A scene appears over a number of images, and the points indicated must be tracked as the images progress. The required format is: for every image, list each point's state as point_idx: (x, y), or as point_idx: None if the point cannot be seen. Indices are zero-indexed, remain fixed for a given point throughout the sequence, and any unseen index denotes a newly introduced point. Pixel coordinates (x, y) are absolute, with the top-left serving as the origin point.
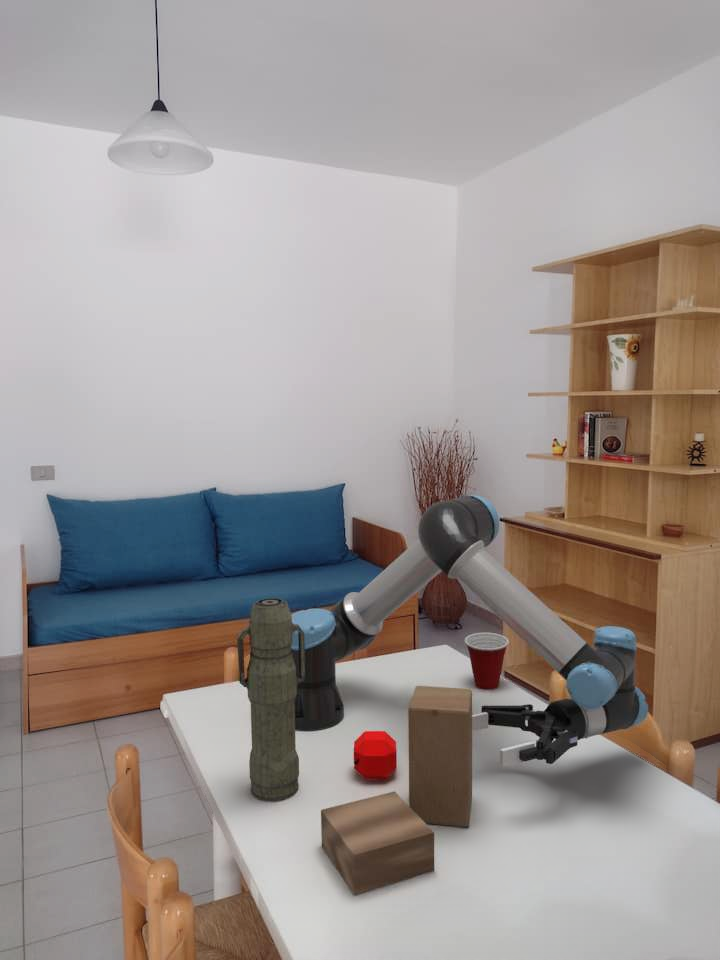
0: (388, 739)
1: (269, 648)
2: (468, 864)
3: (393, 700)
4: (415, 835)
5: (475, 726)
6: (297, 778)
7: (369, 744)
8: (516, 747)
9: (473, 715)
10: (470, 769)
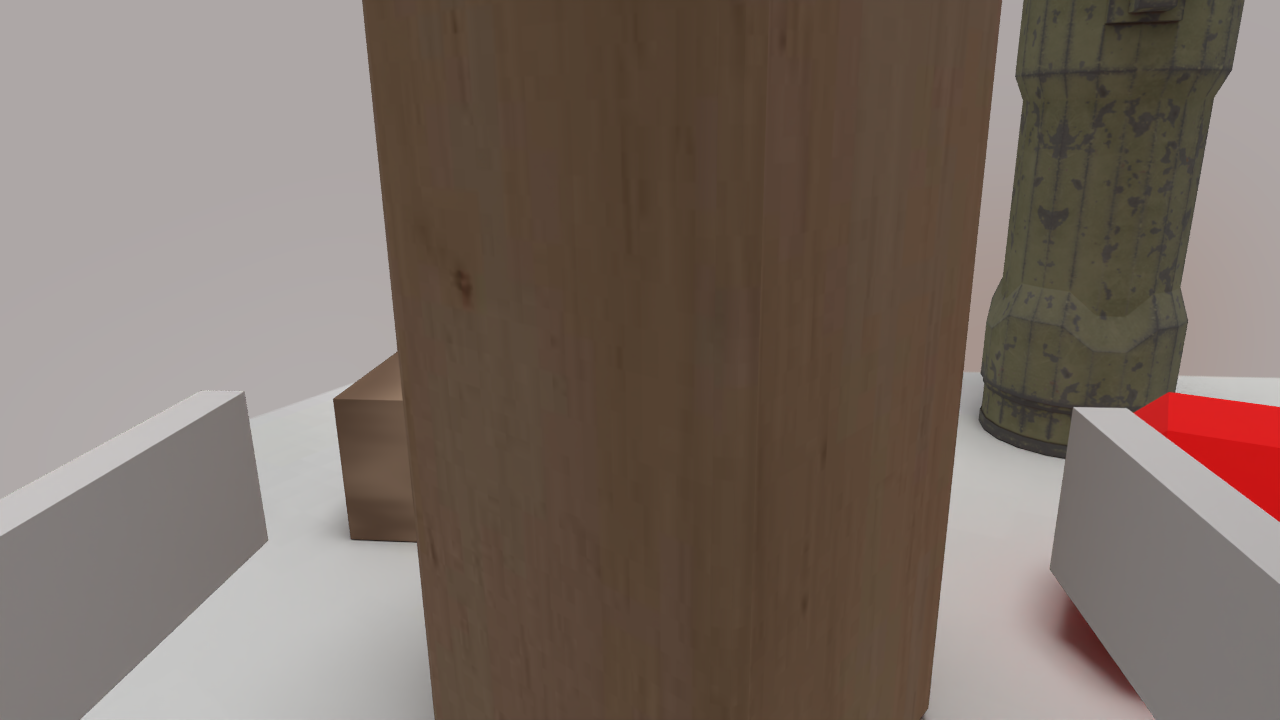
0: (1233, 470)
1: None
2: (258, 617)
3: None
4: (375, 375)
5: (1183, 687)
6: (1047, 408)
7: (1143, 413)
8: (76, 462)
9: (1246, 520)
10: (503, 514)
